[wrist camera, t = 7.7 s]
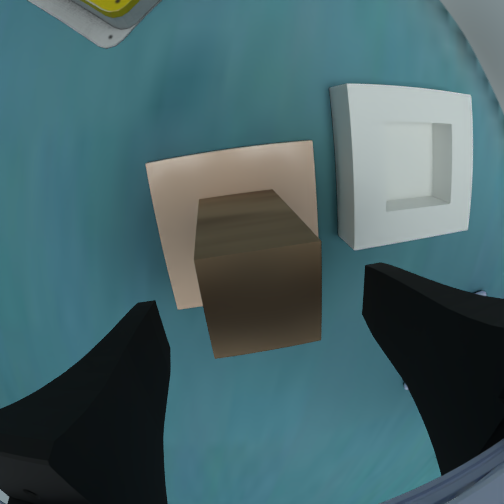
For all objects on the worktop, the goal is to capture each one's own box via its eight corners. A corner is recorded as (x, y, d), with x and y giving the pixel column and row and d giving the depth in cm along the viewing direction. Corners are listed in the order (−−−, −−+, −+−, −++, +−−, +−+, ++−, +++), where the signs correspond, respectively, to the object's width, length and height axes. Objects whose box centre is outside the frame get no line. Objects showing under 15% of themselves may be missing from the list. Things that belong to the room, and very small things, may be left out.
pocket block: (446, 218, 20) (467, 229, 18) (337, 235, 20) (354, 250, 17) (446, 94, 17) (470, 95, 14) (329, 87, 16) (347, 83, 14)
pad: (316, 281, 21) (319, 285, 20) (178, 304, 20) (177, 309, 19) (309, 139, 17) (312, 140, 17) (147, 162, 16) (145, 163, 16)
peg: (277, 256, 19) (321, 339, 12) (209, 266, 19) (214, 358, 11) (272, 188, 17) (321, 240, 10) (198, 199, 17) (193, 259, 10)
